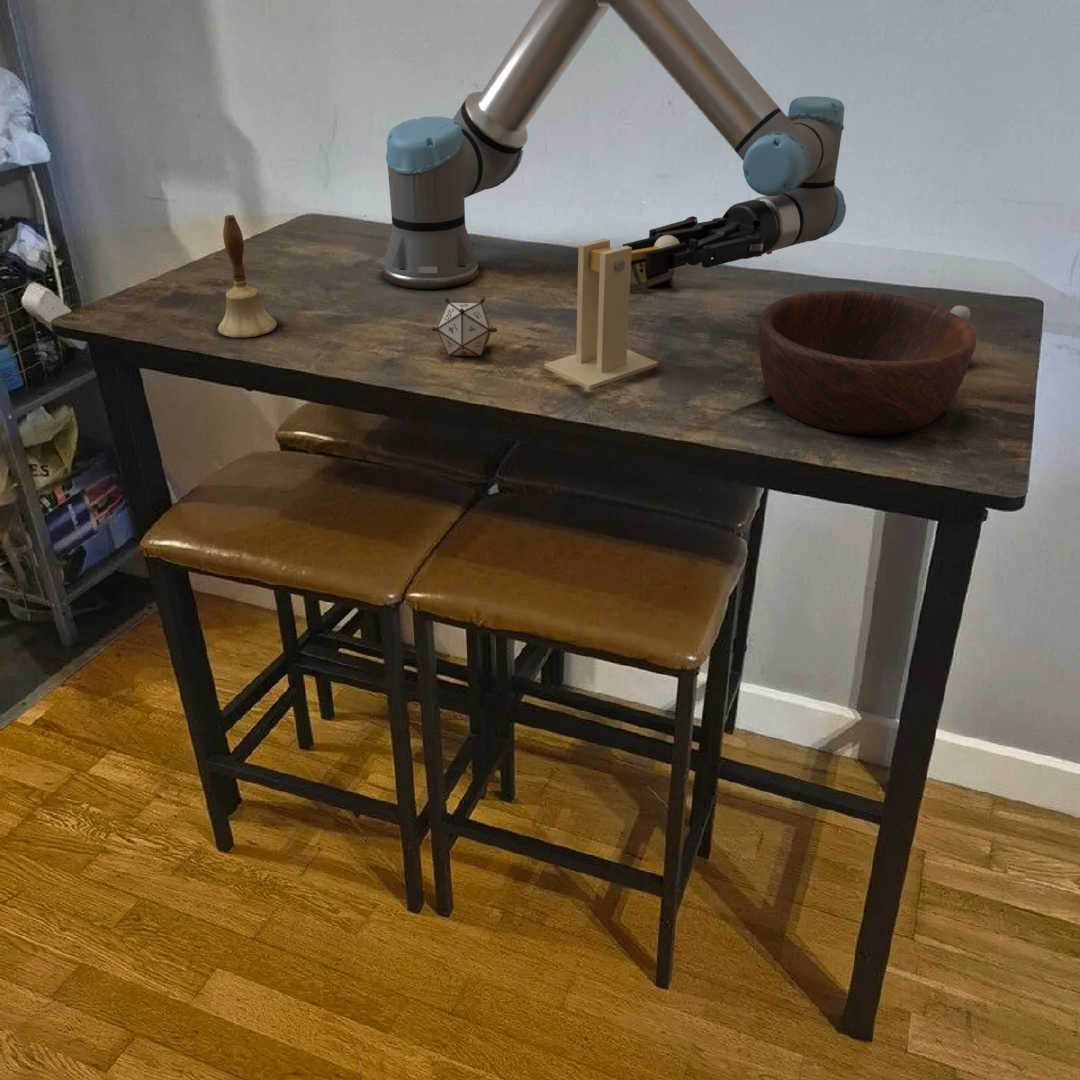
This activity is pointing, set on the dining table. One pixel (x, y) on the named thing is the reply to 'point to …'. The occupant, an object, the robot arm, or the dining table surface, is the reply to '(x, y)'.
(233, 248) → the hand bell
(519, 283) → the dining table surface
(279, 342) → the dining table surface
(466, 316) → the game die
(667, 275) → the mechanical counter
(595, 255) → the lever
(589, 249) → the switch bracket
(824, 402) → the wooden bowl
